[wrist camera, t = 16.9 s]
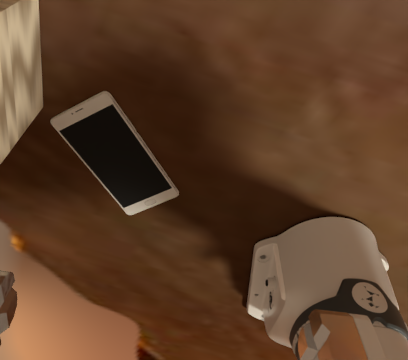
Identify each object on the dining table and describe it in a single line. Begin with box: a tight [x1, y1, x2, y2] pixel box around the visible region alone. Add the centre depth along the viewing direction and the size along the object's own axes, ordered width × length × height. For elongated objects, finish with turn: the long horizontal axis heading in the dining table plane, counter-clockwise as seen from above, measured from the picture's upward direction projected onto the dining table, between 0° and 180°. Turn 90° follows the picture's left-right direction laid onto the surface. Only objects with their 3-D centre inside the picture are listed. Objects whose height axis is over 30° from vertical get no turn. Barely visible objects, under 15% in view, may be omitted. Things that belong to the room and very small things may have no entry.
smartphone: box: [50, 91, 179, 215], centre depth 43 cm, size 8×1×15 cm
